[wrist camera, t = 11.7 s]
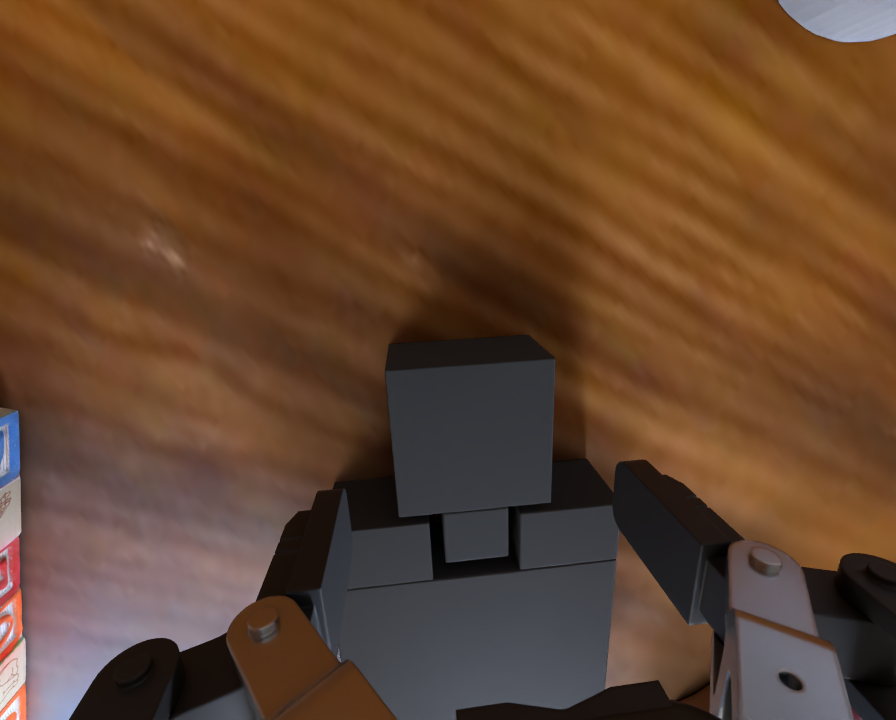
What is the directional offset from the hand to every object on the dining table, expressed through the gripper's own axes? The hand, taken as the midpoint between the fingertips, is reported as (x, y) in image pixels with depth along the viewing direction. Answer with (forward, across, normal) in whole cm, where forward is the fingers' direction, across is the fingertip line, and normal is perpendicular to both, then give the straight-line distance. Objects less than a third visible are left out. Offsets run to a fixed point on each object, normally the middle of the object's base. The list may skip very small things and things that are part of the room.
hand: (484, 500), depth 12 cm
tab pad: (+7, 0, +1) cm, 7 cm away
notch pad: (+7, 0, +9) cm, 12 cm away
